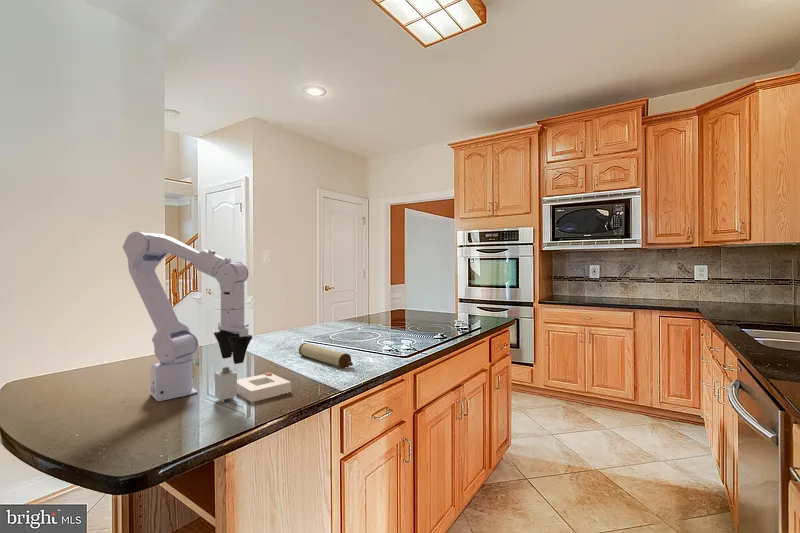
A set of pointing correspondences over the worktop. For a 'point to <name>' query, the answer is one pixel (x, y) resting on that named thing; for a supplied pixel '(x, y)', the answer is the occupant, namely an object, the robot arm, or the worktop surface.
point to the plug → (225, 384)
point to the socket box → (262, 387)
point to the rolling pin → (325, 355)
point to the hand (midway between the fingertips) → (232, 360)
